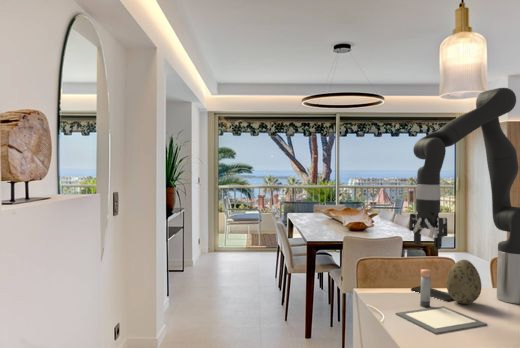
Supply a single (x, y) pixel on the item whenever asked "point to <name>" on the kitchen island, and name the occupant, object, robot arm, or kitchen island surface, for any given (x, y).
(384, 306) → the kitchen island surface
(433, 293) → the phone
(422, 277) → the marker
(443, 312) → the writing mat
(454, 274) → the decorative egg
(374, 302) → the kitchen island surface
